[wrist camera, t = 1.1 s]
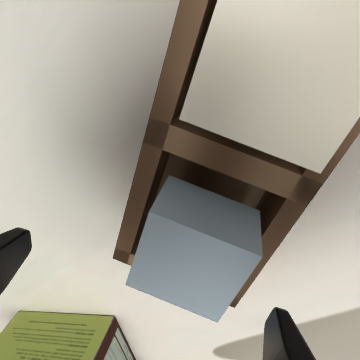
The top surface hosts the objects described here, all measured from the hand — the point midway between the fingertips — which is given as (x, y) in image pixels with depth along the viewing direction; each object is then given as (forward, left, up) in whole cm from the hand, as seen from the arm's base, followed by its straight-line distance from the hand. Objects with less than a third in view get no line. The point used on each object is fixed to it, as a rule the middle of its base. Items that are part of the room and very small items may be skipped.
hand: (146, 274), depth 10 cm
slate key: (-2, +4, -8) cm, 9 cm away
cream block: (-2, -7, -8) cm, 11 cm away
